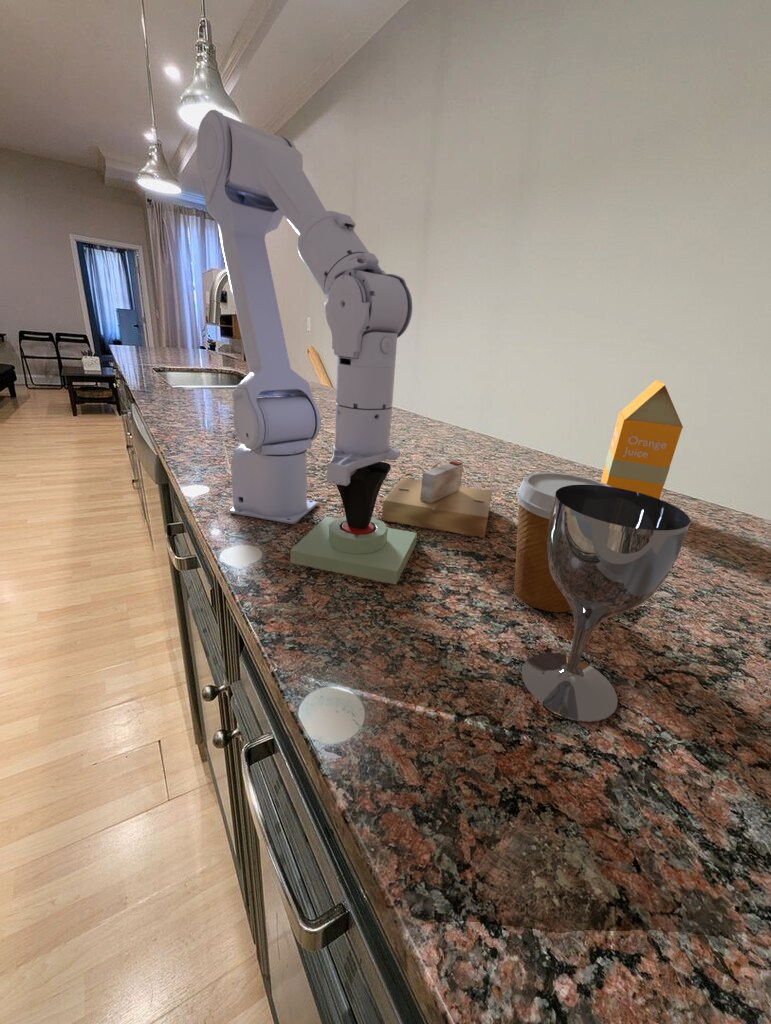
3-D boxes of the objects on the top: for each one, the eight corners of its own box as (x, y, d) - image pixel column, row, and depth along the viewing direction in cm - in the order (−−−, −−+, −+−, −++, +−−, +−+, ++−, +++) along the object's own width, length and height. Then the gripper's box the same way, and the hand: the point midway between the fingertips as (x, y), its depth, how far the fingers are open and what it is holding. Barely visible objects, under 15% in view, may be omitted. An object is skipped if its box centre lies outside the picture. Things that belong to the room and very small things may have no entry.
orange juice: (598, 511, 70) (633, 380, 63) (596, 495, 78) (627, 376, 70) (653, 522, 68) (697, 387, 60) (645, 503, 75) (684, 381, 68)
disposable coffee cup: (604, 630, 41) (641, 511, 37) (499, 612, 43) (522, 496, 38) (583, 579, 50) (611, 477, 45) (496, 566, 52) (515, 466, 47)
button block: (290, 563, 49) (289, 534, 47) (325, 528, 58) (326, 503, 56) (396, 585, 46) (398, 555, 45) (415, 545, 55) (418, 519, 54)
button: (337, 543, 50) (337, 529, 49) (348, 530, 53) (348, 517, 53) (367, 549, 49) (368, 535, 49) (377, 536, 52) (377, 522, 52)
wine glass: (501, 650, 38) (536, 482, 32) (590, 650, 39) (639, 486, 33) (538, 728, 30) (592, 528, 25) (647, 725, 31) (723, 532, 26)
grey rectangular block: (430, 503, 60) (434, 473, 59) (419, 500, 61) (422, 470, 60) (459, 490, 66) (463, 462, 64) (449, 487, 67) (453, 460, 65)
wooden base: (380, 522, 61) (381, 500, 60) (401, 494, 72) (402, 475, 71) (483, 540, 58) (487, 517, 57) (489, 507, 69) (492, 488, 68)
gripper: (382, 421, 38) (373, 561, 43) (417, 400, 51) (406, 509, 56) (306, 412, 40) (306, 548, 45) (358, 393, 53) (354, 501, 58)
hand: (358, 526), depth 51 cm, fingers closed, pressing on button
